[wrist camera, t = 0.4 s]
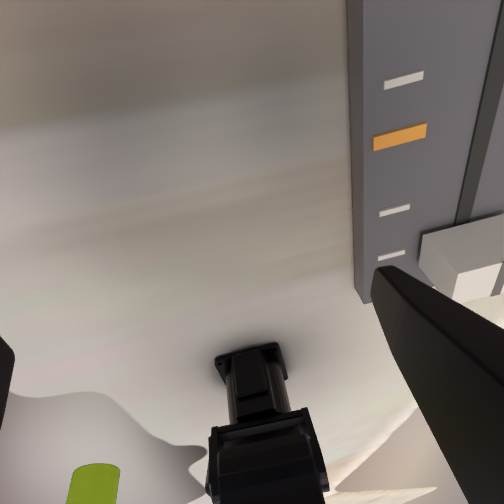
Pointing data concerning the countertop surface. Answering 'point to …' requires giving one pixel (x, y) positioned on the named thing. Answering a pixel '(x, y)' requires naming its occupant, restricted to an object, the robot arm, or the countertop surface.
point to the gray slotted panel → (422, 125)
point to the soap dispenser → (94, 484)
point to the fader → (466, 259)
